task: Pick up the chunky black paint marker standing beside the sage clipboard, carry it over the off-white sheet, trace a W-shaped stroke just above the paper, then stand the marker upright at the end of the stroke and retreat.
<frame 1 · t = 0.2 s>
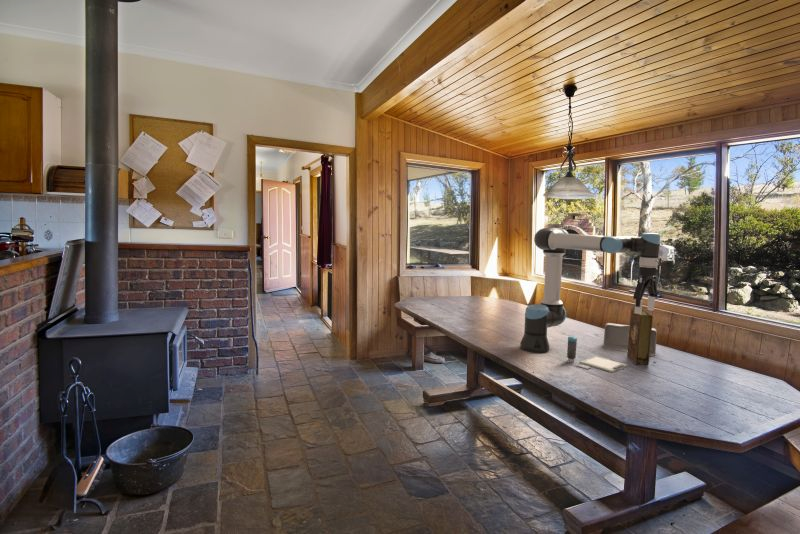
hand: (644, 312, 209), 28 cm above the table, fingers open, 13 cm apart
marker: (570, 361, 222), on the table
book: (637, 361, 225), on the table
clipboard: (603, 364, 218), on the table
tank: (628, 348, 247), on the table
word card: (583, 366, 214), on the table
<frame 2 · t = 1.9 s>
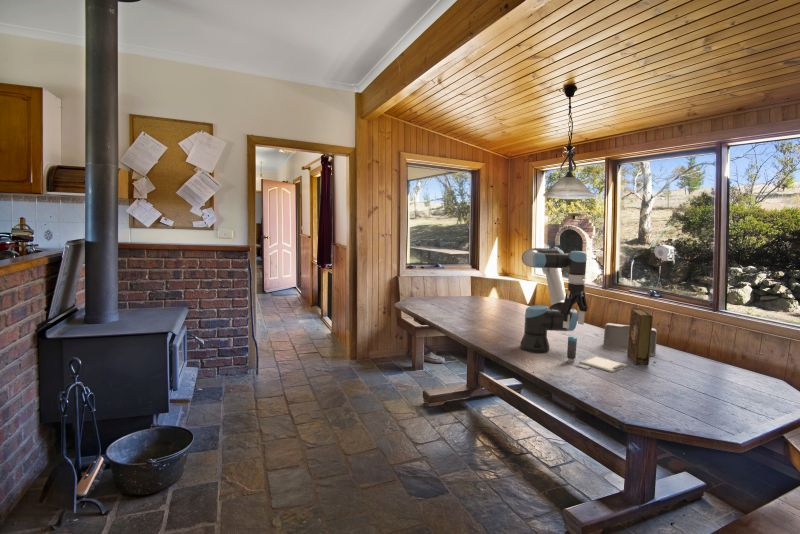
hand: (573, 326, 220), 18 cm above the table, fingers open, 13 cm apart
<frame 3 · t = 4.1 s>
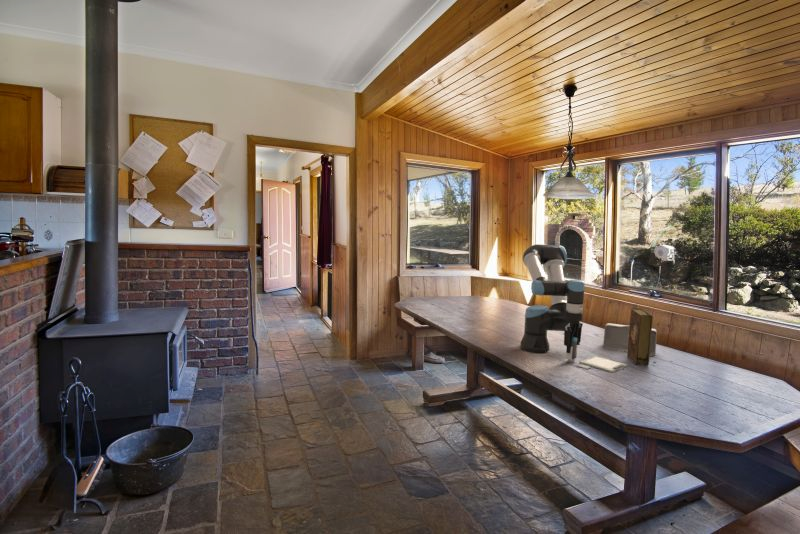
hand: (571, 358, 222), 2 cm above the table, fingers closed on marker, 4 cm apart
marker: (571, 361, 222), on the table, touching gripper
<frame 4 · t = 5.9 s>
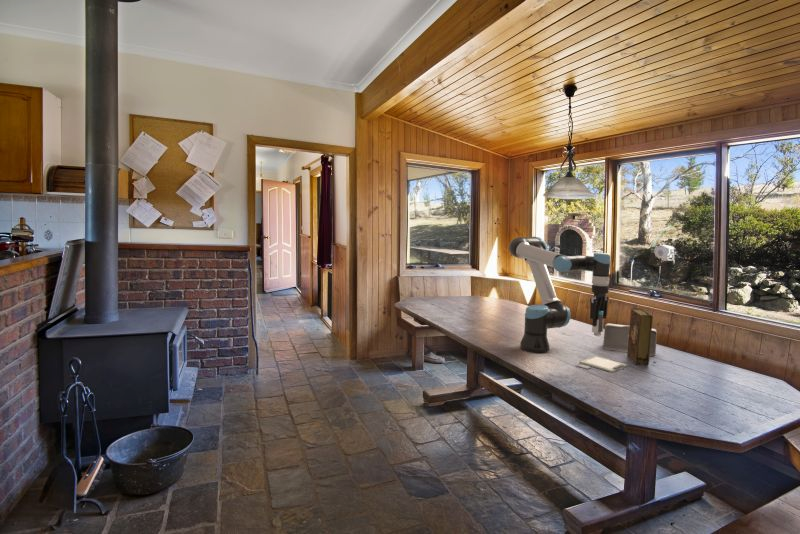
hand: (597, 331, 221), 15 cm above the table, fingers closed on marker, 4 cm apart
marker: (597, 334, 221), point 13 cm above the table, touching gripper
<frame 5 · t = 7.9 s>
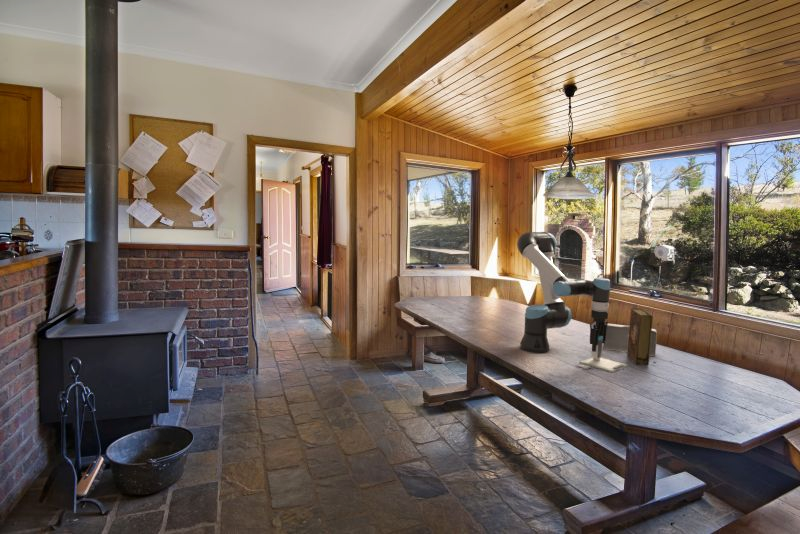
hand: (596, 356, 221), 3 cm above the table, fingers closed on marker, 4 cm apart
marker: (596, 359, 221), point 1 cm above the table, touching gripper
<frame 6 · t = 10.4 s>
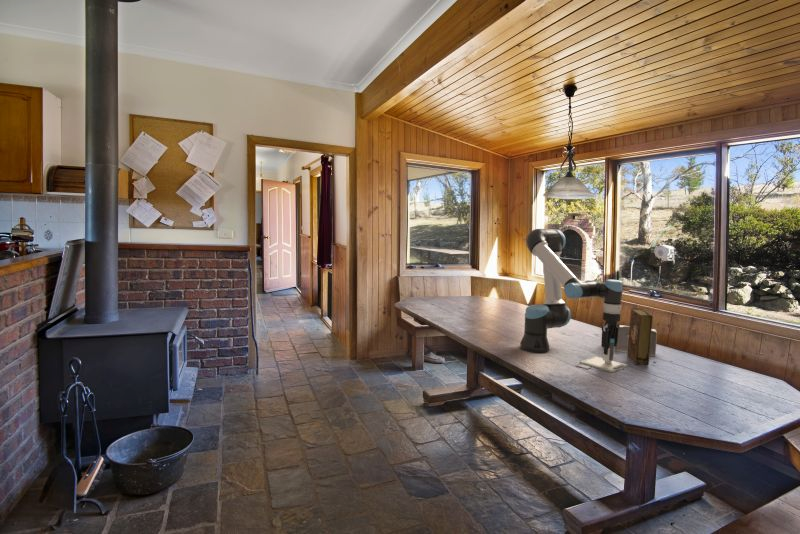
hand: (608, 359, 216), 3 cm above the table, fingers closed on marker, 4 cm apart
marker: (608, 363, 217), point 1 cm above the table, touching gripper
when the fingers open (3 cm above the table, at t = 11.9 s): marker stays where it is, resting on clipboard.
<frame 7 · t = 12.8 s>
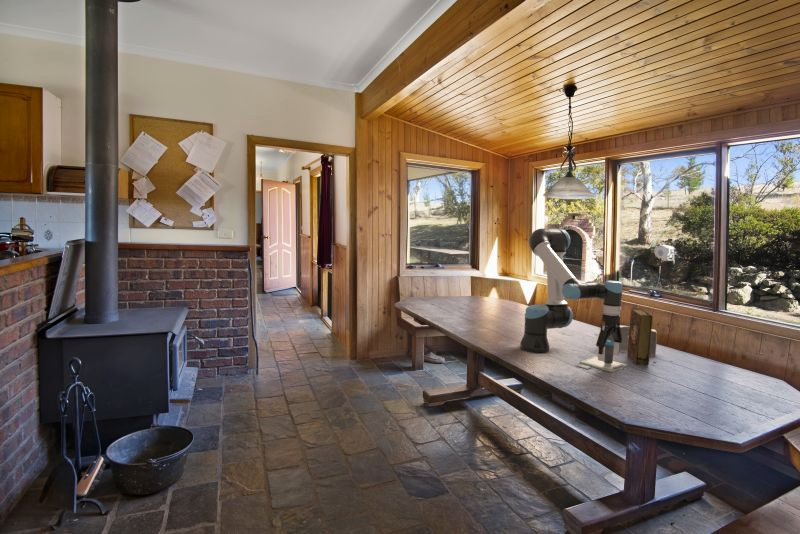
hand: (608, 358, 213), 5 cm above the table, fingers open, 13 cm apart
marker: (607, 366, 213), point 1 cm above the table, touching clipboard
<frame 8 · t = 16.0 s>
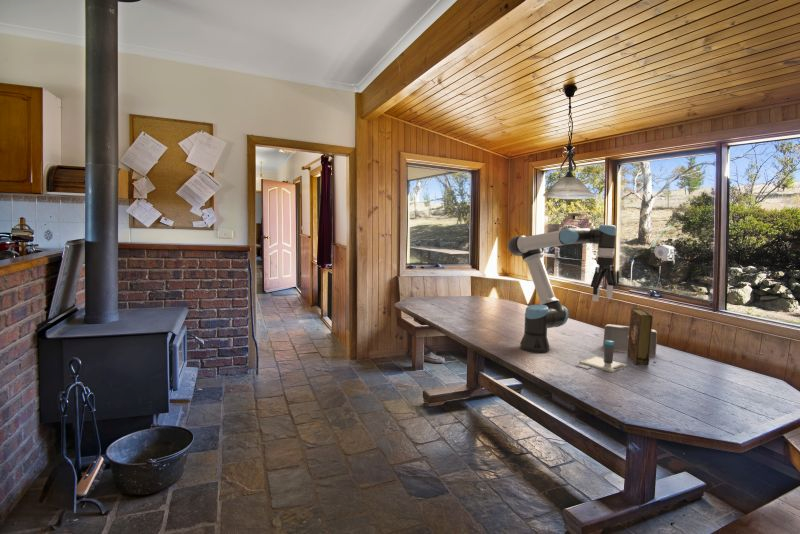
hand: (602, 299, 221), 31 cm above the table, fingers open, 13 cm apart
at the end: marker inside the target area (0.1 cm from its centre), point 0.9 cm above the table; marker tilted 0°; the gripper is holding nothing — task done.
